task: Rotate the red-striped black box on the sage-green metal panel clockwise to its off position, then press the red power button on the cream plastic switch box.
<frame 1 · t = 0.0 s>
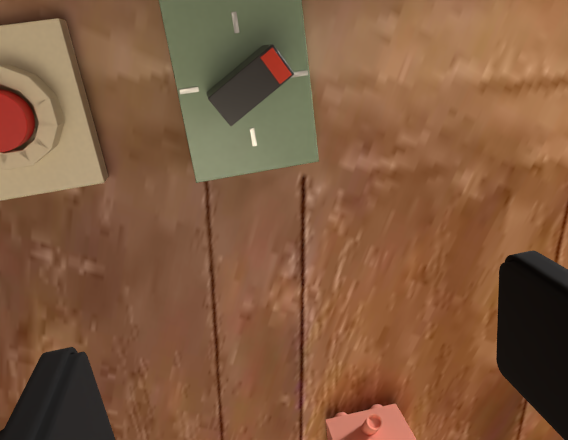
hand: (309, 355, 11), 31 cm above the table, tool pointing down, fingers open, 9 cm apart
pink cube teapot: (358, 423, 53), on the table
switch box: (21, 112, 36), on the table
red-striped black box: (248, 84, 33), point 5 cm above the table, hinge at 120.0°
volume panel: (240, 79, 38), on the table
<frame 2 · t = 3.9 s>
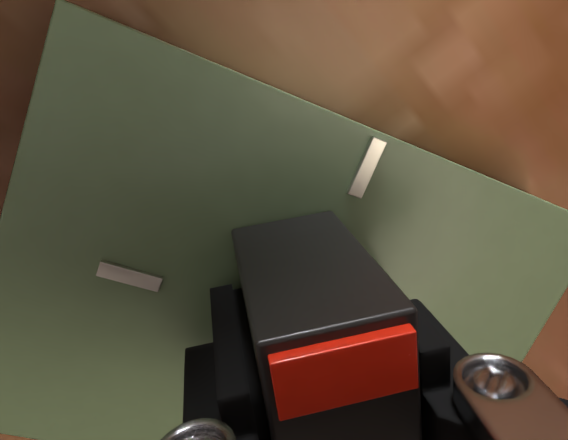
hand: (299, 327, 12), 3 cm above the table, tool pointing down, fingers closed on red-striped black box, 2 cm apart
red-striped black box: (320, 383, 10), point 5 cm above the table, hinge at 120.0°, touching gripper
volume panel: (276, 268, 15), on the table
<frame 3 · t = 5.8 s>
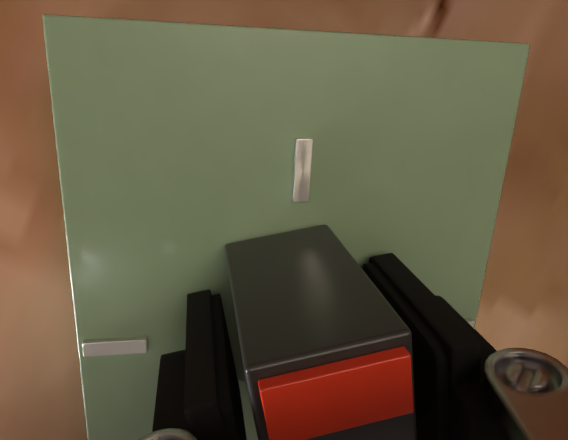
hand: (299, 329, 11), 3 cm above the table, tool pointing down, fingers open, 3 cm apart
red-striped black box: (315, 401, 9), point 5 cm above the table, hinge at 10.7°
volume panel: (273, 280, 15), on the table
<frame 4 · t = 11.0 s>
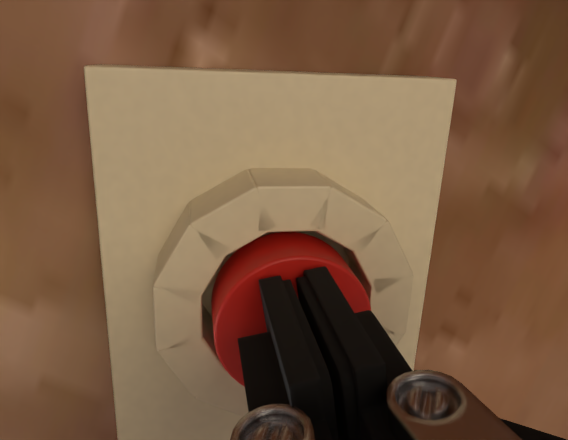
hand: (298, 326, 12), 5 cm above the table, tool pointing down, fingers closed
switch box: (266, 253, 16), on the table
power button: (288, 313, 13), point 4 cm above the table, slide at -0.3 cm, touching gripper
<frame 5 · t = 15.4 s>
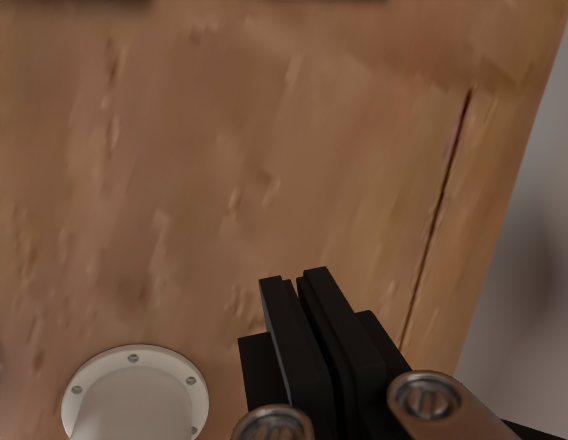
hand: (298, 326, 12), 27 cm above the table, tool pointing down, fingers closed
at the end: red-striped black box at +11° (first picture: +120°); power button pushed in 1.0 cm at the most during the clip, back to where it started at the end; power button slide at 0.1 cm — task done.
